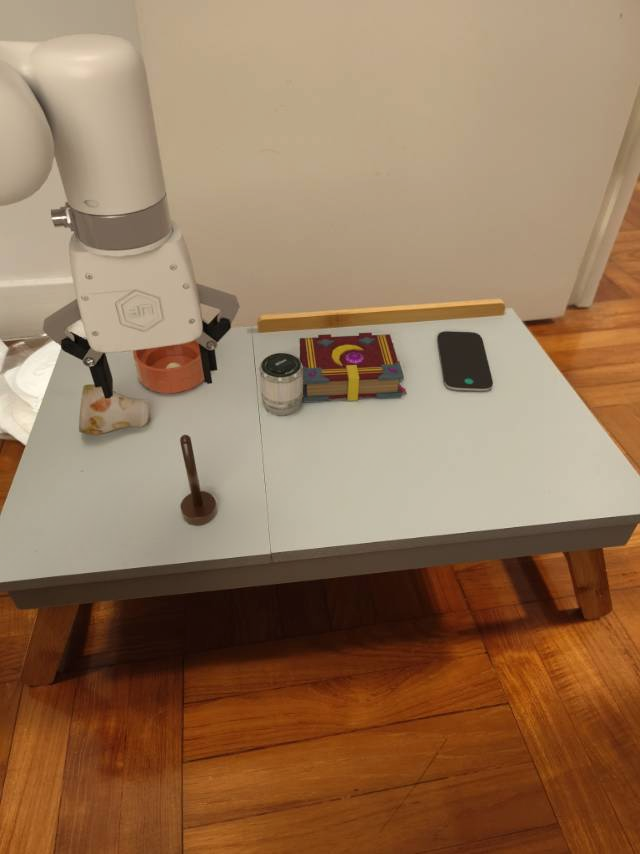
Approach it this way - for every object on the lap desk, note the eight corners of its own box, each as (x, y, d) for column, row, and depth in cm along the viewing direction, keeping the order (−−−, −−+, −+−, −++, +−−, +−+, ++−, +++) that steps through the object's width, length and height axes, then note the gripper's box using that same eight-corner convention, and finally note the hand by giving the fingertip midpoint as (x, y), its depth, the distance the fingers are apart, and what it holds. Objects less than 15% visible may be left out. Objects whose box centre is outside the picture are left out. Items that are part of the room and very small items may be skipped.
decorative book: (298, 358, 101) (298, 333, 98) (395, 354, 102) (398, 329, 99) (303, 404, 93) (303, 378, 90) (408, 398, 94) (412, 373, 91)
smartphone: (445, 386, 95) (436, 330, 106) (444, 390, 96) (435, 334, 106) (495, 388, 95) (481, 331, 106) (493, 392, 95) (480, 336, 106)
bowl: (142, 401, 93) (135, 375, 90) (137, 358, 101) (130, 333, 97) (214, 389, 95) (210, 363, 92) (204, 348, 103) (200, 323, 100)
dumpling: (166, 380, 94) (162, 362, 94) (167, 383, 96) (163, 366, 96) (184, 377, 94) (181, 359, 94) (185, 380, 97) (181, 363, 97)
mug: (158, 437, 88) (110, 405, 80) (104, 457, 91) (52, 427, 83) (160, 395, 92) (114, 359, 84) (108, 414, 95) (59, 382, 87)
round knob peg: (184, 528, 76) (166, 453, 67) (180, 502, 79) (162, 426, 70) (219, 521, 77) (207, 446, 68) (214, 495, 80) (201, 419, 71)
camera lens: (311, 403, 93) (311, 362, 88) (280, 423, 90) (278, 381, 85) (284, 384, 96) (283, 343, 91) (253, 402, 93) (249, 361, 88)
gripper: (2, 251, 45) (66, 421, 57) (236, 227, 48) (251, 393, 60) (13, 208, 50) (70, 371, 62) (223, 189, 53) (239, 348, 65)
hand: (159, 382), depth 61 cm, fingers open, 9 cm apart
